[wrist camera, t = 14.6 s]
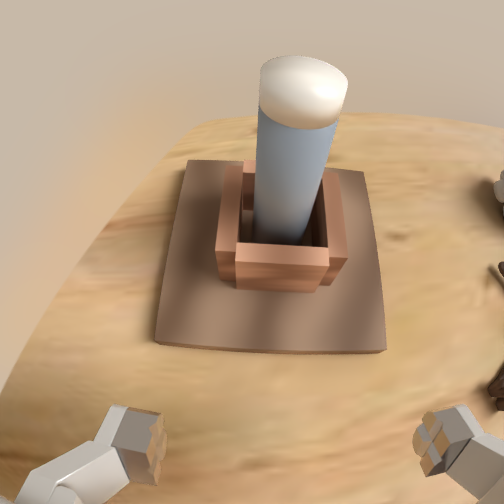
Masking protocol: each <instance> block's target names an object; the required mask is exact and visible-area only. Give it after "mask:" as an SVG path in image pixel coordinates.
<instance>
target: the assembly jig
mask: <svg viewBox="0 0 504 504" xmlns="http://www.w3.org/2000/svg"><path fill="white" fill-rule="evenodd" d="M255 169H256V160H244V161H219V160H188V162H187V166H186V170H185V175H184V179H183V183H182V188H181V192H180V197H179V201H178V206H177V210H176V215H175V220H174V225H173V230H172V235H171V240H170V245H169V250H168V256H167V261H166V267H165V272H164V278H163V284H162V290H161V297H160V303H159V309H158V316H157V323H156V330H155V338H154V340H155V341H156V342H157V343H158V344H160V345H169V346H178V347H187V348H198V349H209V350H222V351H236V352H253V353H276V354H372V353H380V352H382V351H385V350H387V344H386V328H385V315H384V304H383V294H382V284H381V276H380V267H379V260H378V252H377V245H376V239H375V232H374V226H373V220H372V214H371V209H370V203H369V198H368V193H367V188H366V183H365V178H364V173H363V172H361V171H353V170H344V169H335V168H326V167H325V168H324V171H323V175H322V178H321V181H320V185H319V188H318V191H317V195H316V198H315V201H314V204H313V207H312V211H311V214H310V217H309V220H308V223H307V226H306V230H305V233H304V236H303V239H302V242H301V245H300V246H291V245H273V244H256V243H252V227H253V208H254V188H255Z"/></svg>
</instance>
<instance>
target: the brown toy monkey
mask: <svg viewBox="0 0 504 504" xmlns="http://www.w3.org/2000/svg"><path fill="white" fill-rule="evenodd" d="M498 268H499V271H500V273H501V274H502V276H503V277H504V262H500V263H499V265H498ZM488 392H489V394H490V395H491V397H499V398H498V400H497V401H496V406H497V408H498V409H499V410H500V411H504V368H503V369H502V371H501V373H500V375H499V376H498V377H497V379H496V380H495V381H494V382H493V383H492V384H491V385H490V386H489V387H488Z"/></svg>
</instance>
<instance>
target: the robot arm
mask: <svg viewBox="0 0 504 504" xmlns="http://www.w3.org/2000/svg"><path fill="white" fill-rule="evenodd" d="M422 422H423V423H422V424H421V425H420V426H419V427H418V428H417V429H416V431H415V433H414V435H413V442H412V443H413V448H414V451H415V453H416V454H417V455H419V456H420V457H421V461H420V465H421V467H422V469H423V472H424V474H425V476H426V477H429V476H433V475H436V474H440V473H444V472H446V474H447V475H449V476H450V477H451V478H452V479H453V480H455V481H456V482H457V483H458V484H460V485H461V486H462V487H463V488H465V489H466V490H467V491H468V492H470V493H471V494H472V495H473V496H475V497H476V498H477V499H478V500H479V501H478V502H477V503H476V504H504V441H503V440H501V439H499V438H497V437H495V436H493V435H492V434H490V433H486V434H485V432H484V431H483V429H482V428H481V426H480V425H479V423H478V422H477V420H476V419H475V417H474V416H473V414H472V413H471V411H470V410H469V408H468V407H467V406H466V405H465V404H460V405H455V406H451V407H445V408H441V409H436V410H431V411H428V412H426V413H425V414H424V416H423V418H422ZM163 424H164V418H163V414H161V413H157V412H151V411H146V410H141V409H137V408H132V407H127V406H122V405H118V404H113V405H112V406H111V407H110V408H109V410H108V412H107V414H106V416H105V418H104V420H103V422H102V424H101V426H100V428H99V430H98V432H97V434H96V436H95V438H94V441H90V440H88V441H86V442H85V443H83V444H81V445H79V446H78V447H76V448H74V449H72V450H70V451H68V452H67V453H65V454H63V455H61V456H59V457H57V458H55V459H53V460H52V461H50V462H48V463H46V464H44V465H42V466H40V467H38V468H36V469H34V470H32V471H31V472H30V473H29V475H28V477H27V479H26V481H25V482H24V484H23V486H22V488H21V490H20V492H19V494H18V495H17V497H16V499H15V501H14V503H13V502H12V501H10V500H8V499H6V498H5V497H3V496H1V495H0V504H104V503H105V502H106V501H108V500H109V499H110V498H111V497H112V496H114V495H115V494H116V493H117V492H119V491H120V490H121V489H122V488H123V487H125V486H126V485H127V484H128V483H129V482H130V481H133V482H138V483H143V484H149V485H154V486H157V484H158V480H159V476H160V473H161V466H160V461H161V460H162V459H164V458H165V454H166V448H167V433H166V430H165V429H164V428H163Z"/></svg>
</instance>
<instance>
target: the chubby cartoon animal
mask: <svg viewBox="0 0 504 504" xmlns="http://www.w3.org/2000/svg"><path fill="white" fill-rule="evenodd" d="M493 189H494V194H495V196H496V198H497V200H498V201H499V202H501V203H504V170H503V171H502V172H501V174H500V180H499V181H497V182H496V183H494V185H493ZM503 216H504V207H503Z"/></svg>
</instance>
